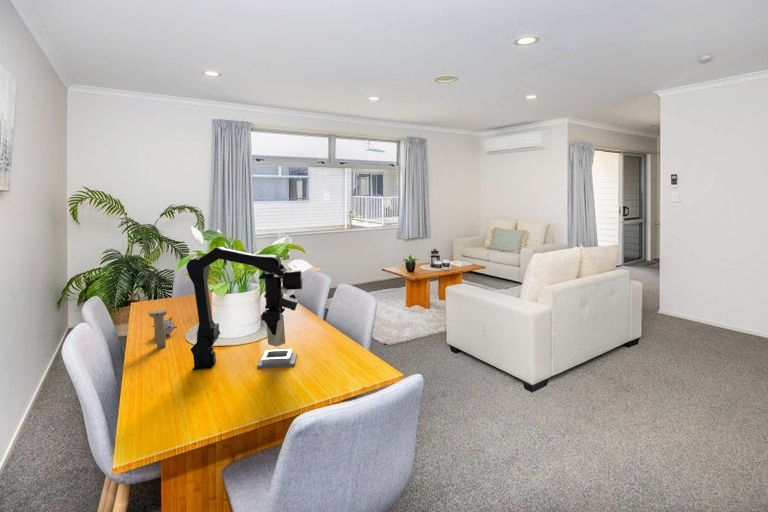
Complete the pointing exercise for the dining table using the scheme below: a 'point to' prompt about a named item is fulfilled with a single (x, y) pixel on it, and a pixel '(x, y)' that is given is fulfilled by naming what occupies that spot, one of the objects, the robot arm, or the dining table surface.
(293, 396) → the dining table surface
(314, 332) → the dining table surface
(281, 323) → the box
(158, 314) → the handle
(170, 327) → the grey spiky ball
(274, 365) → the socket
